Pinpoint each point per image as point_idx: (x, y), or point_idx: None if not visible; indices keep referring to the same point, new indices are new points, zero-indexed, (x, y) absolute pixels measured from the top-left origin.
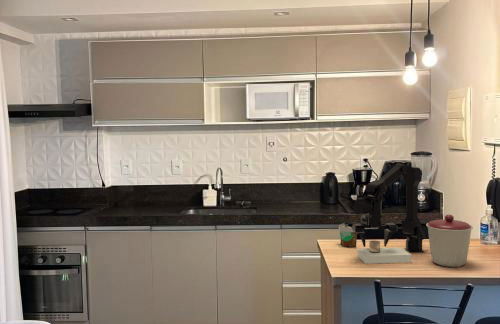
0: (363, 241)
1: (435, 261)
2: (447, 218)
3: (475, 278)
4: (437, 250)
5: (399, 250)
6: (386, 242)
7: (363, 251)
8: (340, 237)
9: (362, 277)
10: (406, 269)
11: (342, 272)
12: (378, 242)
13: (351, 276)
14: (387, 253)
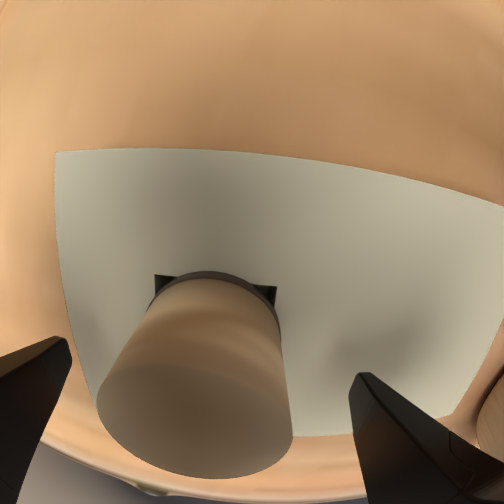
0: (22, 429)
1: (483, 414)
2: None
3: None
4: None
5: (476, 316)
6: (367, 457)
7: (87, 291)
8: None
9: (102, 471)
10: (322, 462)
11: None
12: (240, 468)
13: (67, 453)
14: (319, 401)
